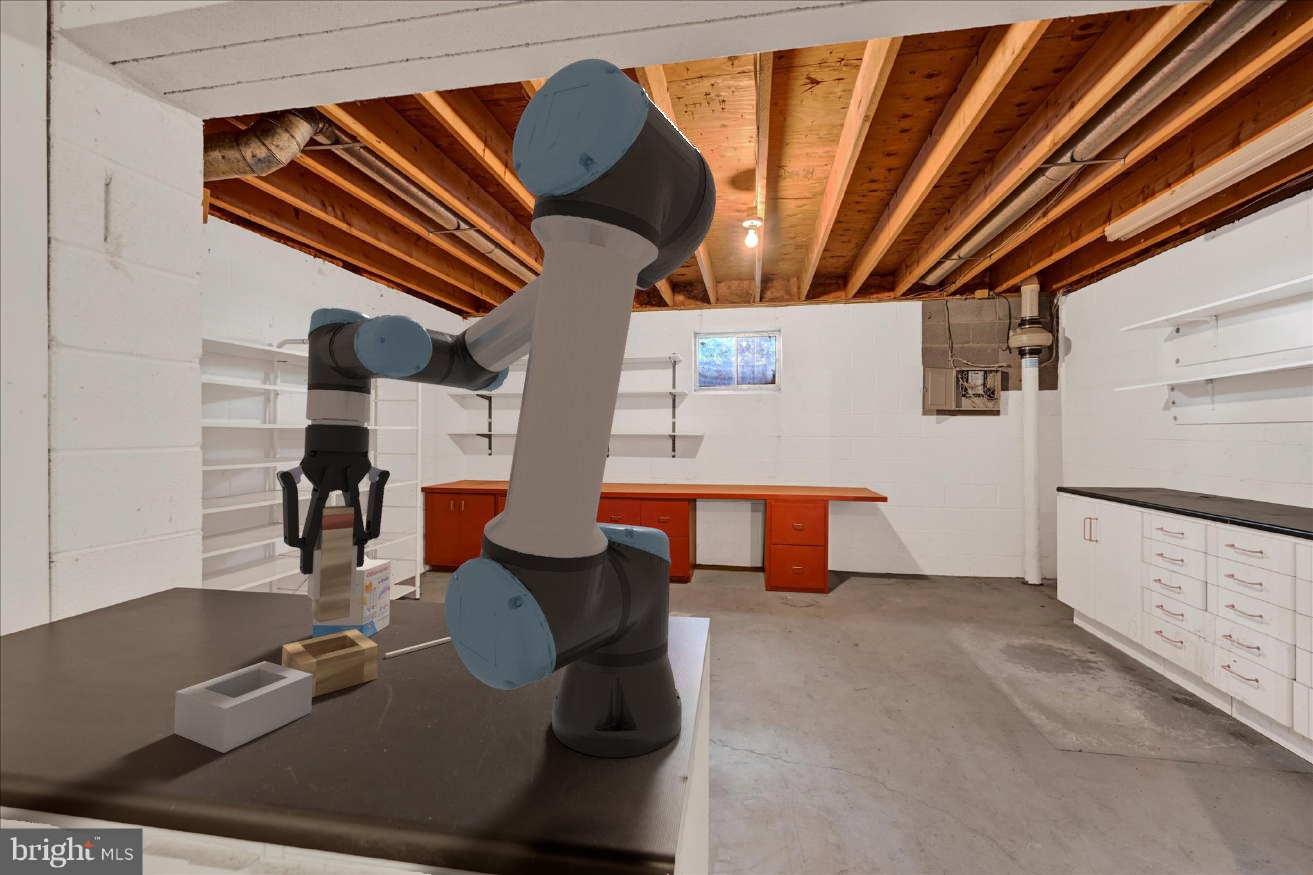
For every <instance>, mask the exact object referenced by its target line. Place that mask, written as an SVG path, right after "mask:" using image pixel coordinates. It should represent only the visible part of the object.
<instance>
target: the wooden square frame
mask: <svg viewBox="0 0 1313 875" xmlns="http://www.w3.org/2000/svg"><path fill="white" fill-rule="evenodd" d="M281 653H282V655H281V666H284V667H288V668H292V669H295V670H299V671H302V672H306V673H310V674H313V678H312V698H314V697H318V696H321V695H325V694H328V693H332V692H335V691H336V692H337V691H339V690H342V689H346V688H349V687H353V686H356V685H359V684H362V683H367V682H370V681H372V680H373V681H374V680H376V679H378V662H379V645H378V643H376V642H375V641H373V640H372V639H370V637H369V638H367V637H366V636H365V635H363V634H362V633H360V632H359V631H358V630H356V629H354V630H349V631H345V632H340V633H335V634H331V635H326V636H322V637H317V638H313V639H312V638H309V639H304V640H301V641H299V640H298V641H295V642H290V643H286V644H282V652H281Z"/></svg>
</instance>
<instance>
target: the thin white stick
mask: <svg viewBox="0 0 1313 875" xmlns="http://www.w3.org/2000/svg"><path fill="white" fill-rule="evenodd" d="M448 642H452V641H451V638H450V636H447V637H445V638H444V637H443V638H440V639H435V640H432V641H428V642H424V643H420V644H417V645H413V646H408V647H405V648H402V649H397V650H394V651H390V652H386V653H385V654H384V657H385V659H390V658H393V657H397V656H402V655H404V654H407V653H410V652H411V653H412V652H416V651H418V650H424V649H428V648H430V647H433V646H438V645H440V644H445V643H448Z"/></svg>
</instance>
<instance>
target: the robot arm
mask: <svg viewBox="0 0 1313 875" xmlns="http://www.w3.org/2000/svg"><path fill="white" fill-rule="evenodd" d="M511 153H512V164H513V168H514V170H515V172H516V173H517V177H518V180H519V181H520V182H521V183H522V185H523V187H524V189H526V190H527V192H529V193H530V194H533V195H534V198H535V199H534V205H533V213H532V219H531V224H530V231H531V232H532V235H534V236H533V237H535V239H536V240H537V242H538V243H539V244H540V246H541V247H542V249H543V252H544V257H543V263H542V270H541V274H539V275H538V276H537V277H535V278H534V279H533V280H531V281H530V282H529V283H527V284H526V285H525V286H524V287H522V288H521V289H519V290H518V291H516V292H515V293H514V294H512V295H511V296H510V297H508V298H507V299H505V300H504V301H503V302H502V303H500V304H499V305H497V306H496V307H495V308H494V309H492V310H491V311H489V312H488V313H487V314H485V315H484V316H482V318H481V317H480V319H479V320H477V321H476V322H475V323H473V324H472V325H470V326H469V327H468V328H466V329H464V330H463V331H462V332H461V333H459V334H451V333H448V332H443V331H439V330H433V329H431V328H430V329H429V328H426V327H424V326H423V325H421V324H420V323H419V322H418V321H416V320H415V319H414V318H411V317H409V316H407V315H400V314H399V315H398V314H395V315H390V314H383V315H381V316H380V315H377V316H375V317H370V316H369V315H367V314H365V313H363V312H360V311H356V310H352V309H348V308H347V309H345V308H340V307H339V308H338V307H332V308H328V307H327V308H326V307H324V308H323V307H322V308H321V307H320V308H318V309H316V310H314V311H313V312H312V314H311V316H310V321H309V322H310V324H309V330H308V333H307V340H308V358H307V387H306V388H307V394H306V410H305V411H306V412H305V419H306V420H308V421H310V424H307V425H306V426H305V428H304V429H305V430H304V431H305V432H304V434H305V435H304V455H303V457H302V460H300V462H299V465H298V466H296V467H292V468H290V469H287V470H279V471H278V472H276V478H277V481H278V483H279V485H280V487H281V489H282V490H281V491H282V495H281V496H282V524H283V525H282V526H283V527H282V528H283V542H284V544H286V545H287V546H289V547H290V548H297V549H299V551H300V552H299V553H300V554H299V571H300V574H303V575H304V576H305V575H307V592H306V593H307V594H306V596H307V597H308V598H310V599H311V601H312V600H317V599H319V598H320V573H321V550H320V549H318V548H317V547H315V545H316V541H317V537H318V533H319V529H320V525H321V521H322V515H323V509H325V506H327V505H326V504H327V500H328V499H329V498H330V493H333V492H337V491H341V495H342V497H343V500H344V505H345V506H349V507H354V528H353V543H352V569H351V594H352V593H356V567H362V566H363V564H364V554H365V547H366V545H367V544H368V542H369V541H372V540H376V539H378V538H379V537H380V535H381V525H382V515H383V505H384V497H385V496H384V494H385V486H386V485H387V483H388V480H389V478H390V476H391V472H390V471H389V470H387V469H380V468H379V467H375V466H373V465H372V462H371V459H370V457H369V446H370V445H369V444H370V429H369V428H368V426H365V425H366V423H367V424H368V423H369V422H370V421H371V393H372V391H371V388H372V379H388V380H389V379H390V380H397V381H402V382H403V381H404V382H410V383H411V382H413V383H419V384H427V385H428V384H429V385H435V386H443V387H449V388H456V389H462V390H463V389H464V390H467V391H472V392H479V391H484V392H492V391H495V390H497V389H499V388H501V387H502V386H503V385H504V382H505V380H506V379H507V378H508V376H509V373H510V366H512V365H513V364H515V363H516V362H519V360H521V359H522V358H524V357H525V356H527V355H528V358H527V366H526V370H525V377H524V382H523V383H524V385H523V391H522V396H521V401H520V402H521V403H520V409H519V416H518V423H517V427H516V428H517V429H516V435H515V441H514V448H513V455H512V462H511V466H510V473H509V479H508V480H509V481H508V487H507V491H506V492H507V494H506V499H505V505H504V509H503V511H502V512H500V513H499V514H498V515H496V516H495V517H493V518H492V519H491V520H489V521H488V522H487V523H486V524H485V525H484V529H483V535H482V542H481V549H480V554H479V557H475V558H470V559H468V560H467V561H466V562H464V563H463V564H461V565H460V566H459V567H458V568H457V570H455V571H454V572H453V573H452V574H451V576H450V578H449V580H448V583H447V586H446V589H445V594H444V595H445V596H444V614H445V616H444V617H445V622H446V628H447V631H448V634H449V637H450V638H451V641H450V642H452V644H453V646H454V648H455V651H456V652H457V656H458V657H459V659H460V660H461V662H462V664H463V665H464V666H465V668H466V669H467V670H468V671H469V672H470V674H472V675H473V676H474V677H475V678H476V679H477V680H479V681H480V682H481V683H483V684H485V685H487V686H489V687H491V688H494V689H497V690H501V691H502V690H504V691H505V690H506V691H509V690H515V689H518V688H521V687H523V686H527V685H528V684H531V683H533V682H540V681H543V680H545V679H546V678H547V677H551V675H552V674H553V673H554V672H556V671H558V670H560V669H563V668H564V670H563V671H564V672H563V675H562V678H561V682H560V685H559V689H558V691H557V693H556V695H555V698H554V699H553V703H552V713H551V714H552V715H551V716H552V719H551V720H552V722H551V727H552V731H553V734H554V735H555V737H556V738H557V740H559V741H560V742H561V743H562V744H563V745H564V746H566V747H568V748H570V749H571V750H574V751H576V752H579V753H582V754H585V755H589V756H594V757H595V756H596V757H602V758H603V757H604V758H627V757H634V756H639V755H643V754H644V755H645V754H648V753H650V752H653V751H656V750H658V749H660V748H662V747H664V746H666V745H667V744H669V743H671V741H673V740H674V739H675V738H676V737H677V735H678V734H679V733H680V730H681V728H682V719H683V718H682V711H683V710H682V709H683V705H682V699H681V698H682V697H681V696H680V695H681V694H680V693H679V691H678V690H677V687H676V682H675V679H674V678H675V677H674V674H673V673H674V672H673V669H672V665H671V661H670V658H669V622H670V620H669V618H670V617H669V616H670V615H669V613H670V582H671V580H670V578H671V577H670V576H671V574H670V573H671V572H670V571H671V565H672V559H671V557H670V540H669V537H668V535H667V534H666V533H665V531H663V530H661V529H658V528H654V527H647V526H639V525H629V524H620V523H619V524H618V523H617V524H616V523H606V522H597V516H598V510H599V504H600V498H601V492H602V486H603V482H604V477H605V476H604V475H605V468H606V462H607V459H608V458H607V457H608V451H609V445H610V441H611V434H612V428H613V423H614V417H615V411H616V405H617V398H618V392H619V387H620V381H621V374H622V370H623V364H624V363H623V362H624V358H625V354H626V353H625V351H626V345H627V339H628V335H629V329H630V328H629V327H630V323H631V316H632V312H633V311H632V310H633V304H634V300H635V292H636V289H637V290H641V291H647V290H648V289H650V288H652V287H653V286H655V285H656V284H657V283H659V282H661V281H663V280H665V279H666V278H667V277H669V276H670V275H672V274H673V273H674V272H676V271H677V270H678V269H679V268H681V266H683V265H684V264H685V263H686V262H687V261H688V260H689V259H690V258H691V257H692V256H693V255H694V254H695V252H696V251H697V250H698V249H699V247H700V246H701V245H702V243H703V242H704V241H705V239H706V237H707V235H708V233H709V231H710V229H711V226H712V223H713V221H714V216H715V212H716V211H715V210H716V205H717V204H716V203H717V191H716V190H717V189H716V183H715V179H714V175H713V172H712V170H711V168H710V166H709V163H708V162H707V160H706V158H705V156H704V155H703V154H702V153H701V152H700V151H699V149H698V148H697V147H696V146H695V145H694V144H692V143H691V141H689V140H688V138H686V136H685V135H684V134H683V133H682V132H681V131H680V130H679V129H678V128H677V127H676V126H675V125H674V123H673V122H672V121H671V120H670V119H669V118H668V116H666V115H665V114H664V112H663V111H662V110H661V109H660V108H659V107H658V106H657V105H656V104H655V103H654V102H653V101H652V99H650V98H649V95H648V94H647V92H646V90H645V88H644V87H643V86H642V85H641V84H640V83H638V82H636V81H633V80H632V79H631V78H630V77H629V76H628V75H627V74H626V73H625V72H623V71H622V69H621V68H619V67H618V66H617V65H615V64H614V63H612V62H609V61H608V60H605V59H600V58H586V59H581V60H577V61H575V62H571V63H570V64H568V65H565V66H564V67H562V68H560V69H559V70H558V71H556V72H555V73H553V75H551V76H550V77H549V78H548V79H547V80H546V81H545V82H544V84H543V85H542V86H541V87H540V88H539V89H538V90H537V91H536V92H535V93H534V94H533V96H532V97H531V99H530V100H529V102H528V104H527V105H526V107H525V109H524V110H523V112H522V114H521V117H520V119H519V122H518V124H517V126H516V130H515V134H514V138H513V143H512V152H511ZM367 474H368V481H369V482H370V484H369V489H368V495H367V497H368V498H367V508H366V518H365V525H364V519H363V512H362V507H361V506H362V505H361V500H360V494H361V493H360V488H359V487H360V486H359V484H360V483H361V482H362V481H363V480H364V479H365V477H366V476H367ZM302 475H303V476H305V478H306V479H307V480H308V481H309V483H310V484H311V485H312V489H311V494H310V496H311V497H310V502H309V506H308V509H307V513H306V514H307V515H306V518H305V522H304V524H303V529H302V533H301V536H300V517H299V516H300V512H299V508H300V507H299V488H298V485H299V484H300V483H301V481H302V480H301V477H302Z"/></svg>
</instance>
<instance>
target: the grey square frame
mask: <svg viewBox="0 0 1313 875" xmlns="http://www.w3.org/2000/svg"><path fill="white" fill-rule="evenodd" d="M312 678H313V674H310V673H306V672H302V671H299V670H295V669H292V668H288V667H284V666H282V664H281V665H280V664H277V663H274V662H270V661H265V660H264V661H261V662H259V663H258V662H257V663H256V664H255V663H254V664H252V665H250V666H247V667H244V668H240V669H238V670H235V671H233V672H229V673H227V674H224V675H220V676H218V677H215V678H212V679H208V680H206V681H203V682H200V683H196V684H194V685H191V686H188V687H186V688H185V687H184V688H182V689H179V690H176V691H175V703H174V704H175V705H174V727H173V728H174V730H173V733H174V734H175V735H178V736H180V737H183V738H185V739H187V740H189V741H190V740H191V741H193V742H196V743H197V744H200V745H202V746H205V747H207V748H210V749H213V750H216V751H217V752H220V753H222V754H224V753H227V752H229V751H231V750H233V749H235V748H238V747H240V746H242V745H244V744H247V743H249V742H250V741H253V740H255V739H257V738H259V737H262V736H264V735H265V734H268V733H270V732H272V731H274V730H277V729H279V728H281V727H283V726H285V725H288V724H290V723H292V722H294V721H296V720H298V719H300V718H302V717H305V716H307V715H308V714H309V715H310V714H311V713H312V700H313V699H312V698H313V697H312Z"/></svg>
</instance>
